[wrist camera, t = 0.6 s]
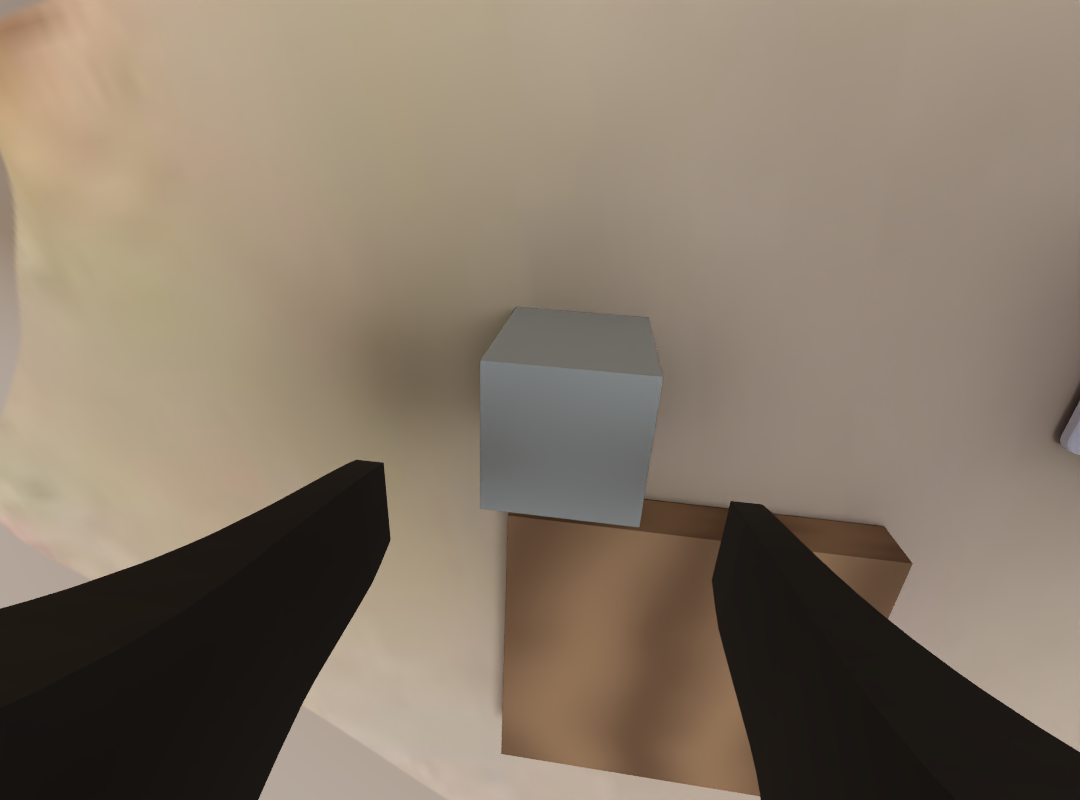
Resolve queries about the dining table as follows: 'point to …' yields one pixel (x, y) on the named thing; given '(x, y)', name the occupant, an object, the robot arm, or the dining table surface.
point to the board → (645, 639)
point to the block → (569, 415)
